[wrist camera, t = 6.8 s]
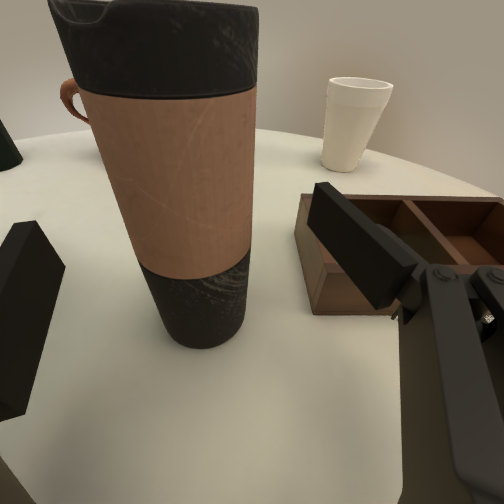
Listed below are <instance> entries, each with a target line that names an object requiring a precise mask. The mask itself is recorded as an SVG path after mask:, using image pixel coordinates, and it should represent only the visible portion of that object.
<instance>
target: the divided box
mask: <svg viewBox="0 0 504 504" xmlns="http://www.w3.org/2000/svg"><path fill="white" fill-rule="evenodd" d="M342 195H343V196H344V197H346V198H347V199H348V200H349V201H350V202H351V203H352V204H353V205H355V206H356V207H357V208H358V209H359V210H360V211H361V212H363V213H364V214H365V215H366V216H367V217H368V218H369V219H370V220H372V221H373V222H374V223H375V224H380V225H382V226H384V227H386V228H388V229H389V230H391V231H392V232H393V233H394V234H395V235H396V236H397V238H400V239H401V240H402V241H403V242H404V243H406V244H407V245H408V246H409V247H410V248H412V249H413V250H414V251H415V252H416V253H417V254H419V255H420V256H421V257H422V258H423V259H424V260H426V261H427V262H428V263H429V264H434V263H436V264H442V265H445V266H448V267H450V268H451V269H453V270H455V271H456V272H457V273H458V274H473V273H474V272H475V271H476V270H477V269H478V268H479V267H481V266H492V267H496V268H499V269H502V270H504V200H503V199H502V198H500V197H454V196H403V195H351V194H342ZM312 196H313V194H301V198H300V203H299V209H298V214H297V220H296V225H295V230H294V235H295V240H296V244H297V248H298V252H299V256H300V261H301V265H302V269H303V273H304V278H305V282H306V286H307V290H308V294H309V299H310V303H311V307H312V311H313V315H393V313H394V312H395V311H396V309H397V308H398V306H399V305H400V301H399V300H398V299H397V298H395V300H394V302H393V303H392V305H391V306H390V307H387V308H384V309H380V310H377V311H376V310H375V309H374V308H373V306H372V305H371V304H370V303H369V301H368V300H367V299H366V298H365V296H364V295H363V294H362V293H361V292H360V290H359V289H358V288H357V287H356V285H355V284H354V283H353V282H352V280H351V279H350V278H349V277H348V275H347V274H346V273H345V272H344V270H343V269H342V268H341V267H340V265H339V264H338V263H337V262H336V260H335V259H334V258H333V257H332V255H331V254H330V253H329V252H328V251H327V249H326V248H325V247H324V246H323V244H322V243H321V242H320V241H319V239H318V238H317V237H316V236H315V234H314V233H313V232H312V231H311V229H310V228H309V227H308V226H307V219H308V214H309V210H310V205H311V201H312ZM487 315H492V314H491V312H490V313H489V314H487Z"/></svg>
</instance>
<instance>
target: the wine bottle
mask: <svg viewBox="0 0 504 504" xmlns="http://www.w3.org/2000/svg"><path fill="white" fill-rule="evenodd" d="M22 160H23V158H22V156H21V154H20V153H19V151H18V149H17V147H16V146H15V144H14V142H13V141H12V139H11V137H10V135H9V134H8V132H7V130H6V128H5V127H4V125H3V123H2V122H1V120H0V171H4V170H8V169H11V168H13V167H15V166H17V165H19V164H21V162H22Z"/></svg>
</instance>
